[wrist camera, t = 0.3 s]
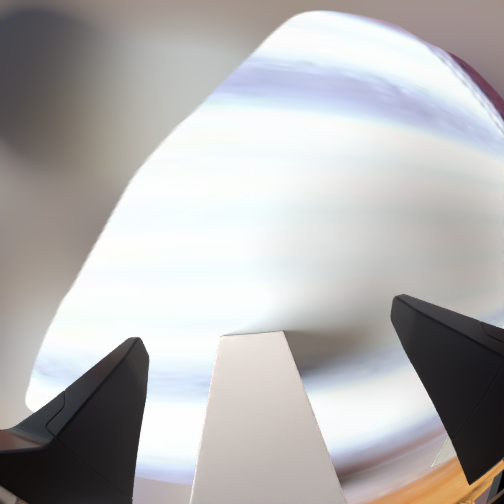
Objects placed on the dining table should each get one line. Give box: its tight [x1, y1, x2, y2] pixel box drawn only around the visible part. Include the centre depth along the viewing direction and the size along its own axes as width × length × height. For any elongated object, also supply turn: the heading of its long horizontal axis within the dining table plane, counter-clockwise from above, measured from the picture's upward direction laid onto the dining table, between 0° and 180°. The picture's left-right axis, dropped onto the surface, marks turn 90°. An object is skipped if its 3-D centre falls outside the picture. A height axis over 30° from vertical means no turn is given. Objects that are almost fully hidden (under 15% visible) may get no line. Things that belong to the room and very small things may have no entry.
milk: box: [190, 331, 347, 504], centre depth 14 cm, size 6×6×22 cm
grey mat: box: [431, 435, 457, 468], centre depth 29 cm, size 12×12×1 cm
